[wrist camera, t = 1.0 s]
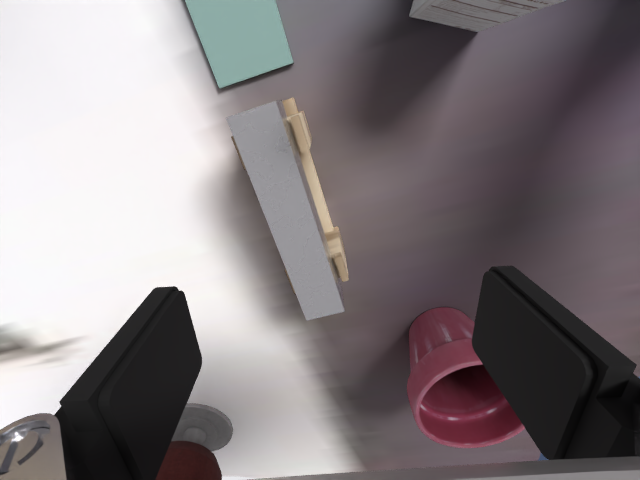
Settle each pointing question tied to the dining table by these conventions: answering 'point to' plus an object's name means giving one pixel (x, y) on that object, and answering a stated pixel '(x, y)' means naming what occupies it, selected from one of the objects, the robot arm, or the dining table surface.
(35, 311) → the dining table surface
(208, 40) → the mat
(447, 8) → the supplement box
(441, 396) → the plant pot
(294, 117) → the rack
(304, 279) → the block
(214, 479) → the mate gourd
